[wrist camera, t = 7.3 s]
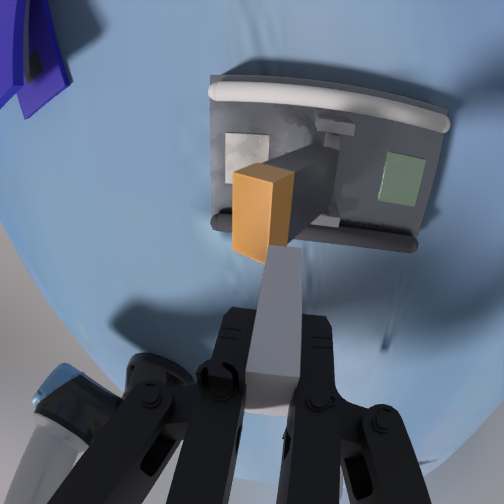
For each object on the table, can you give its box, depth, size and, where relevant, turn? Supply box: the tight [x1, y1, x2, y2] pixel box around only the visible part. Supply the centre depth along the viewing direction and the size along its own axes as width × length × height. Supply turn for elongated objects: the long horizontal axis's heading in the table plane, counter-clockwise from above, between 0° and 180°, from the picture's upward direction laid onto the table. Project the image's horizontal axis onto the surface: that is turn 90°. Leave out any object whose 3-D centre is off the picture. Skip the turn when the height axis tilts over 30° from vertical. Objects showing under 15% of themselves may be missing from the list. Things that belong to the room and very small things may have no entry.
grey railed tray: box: [208, 81, 450, 253], centre depth 25 cm, size 22×15×2 cm
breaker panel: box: [210, 75, 448, 239], centre depth 27 cm, size 22×16×6 cm
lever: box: [232, 133, 341, 264], centre depth 21 cm, size 3×7×13 cm, turn 179°
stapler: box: [0, 0, 70, 119], centre depth 18 cm, size 12×28×10 cm, turn 17°
